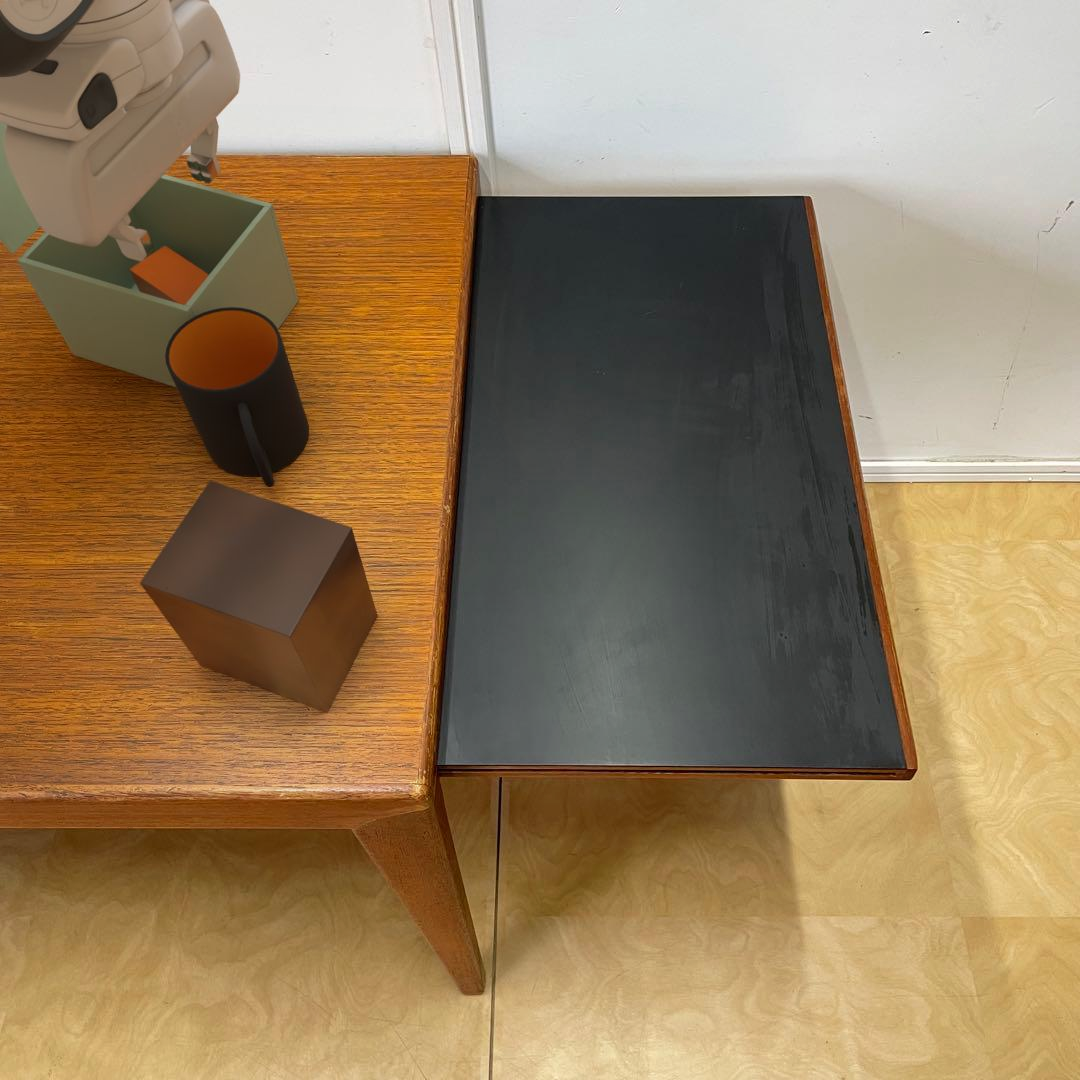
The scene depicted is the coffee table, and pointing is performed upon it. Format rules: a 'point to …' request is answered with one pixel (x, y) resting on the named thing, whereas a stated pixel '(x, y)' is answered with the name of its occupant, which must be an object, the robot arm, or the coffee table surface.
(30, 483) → the coffee table surface
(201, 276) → the block
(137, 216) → the green box
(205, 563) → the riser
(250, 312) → the mug
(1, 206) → the flap
